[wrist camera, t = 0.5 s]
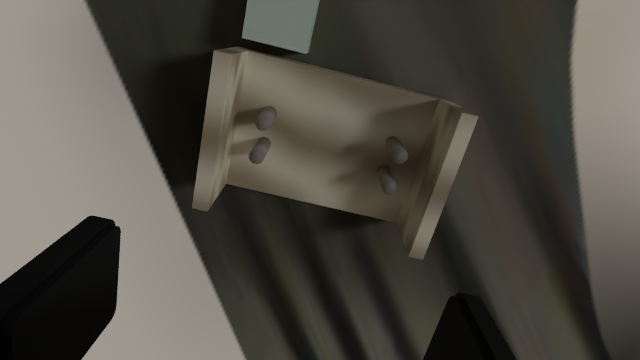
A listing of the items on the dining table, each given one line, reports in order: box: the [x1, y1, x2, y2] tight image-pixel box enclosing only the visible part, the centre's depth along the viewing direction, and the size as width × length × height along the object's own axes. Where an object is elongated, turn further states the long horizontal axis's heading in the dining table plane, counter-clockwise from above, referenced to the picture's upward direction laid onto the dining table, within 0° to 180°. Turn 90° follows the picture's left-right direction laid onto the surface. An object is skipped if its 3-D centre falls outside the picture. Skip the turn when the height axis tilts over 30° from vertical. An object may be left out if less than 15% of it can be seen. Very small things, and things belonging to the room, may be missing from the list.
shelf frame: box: [192, 46, 478, 260], centre depth 33 cm, size 12×19×8 cm, turn 76°
